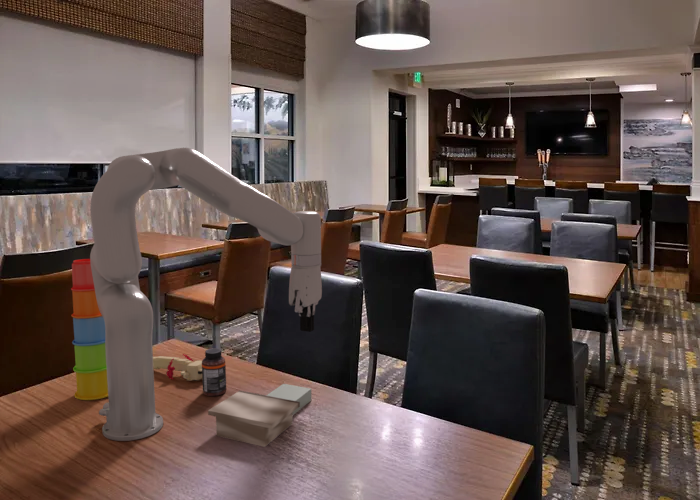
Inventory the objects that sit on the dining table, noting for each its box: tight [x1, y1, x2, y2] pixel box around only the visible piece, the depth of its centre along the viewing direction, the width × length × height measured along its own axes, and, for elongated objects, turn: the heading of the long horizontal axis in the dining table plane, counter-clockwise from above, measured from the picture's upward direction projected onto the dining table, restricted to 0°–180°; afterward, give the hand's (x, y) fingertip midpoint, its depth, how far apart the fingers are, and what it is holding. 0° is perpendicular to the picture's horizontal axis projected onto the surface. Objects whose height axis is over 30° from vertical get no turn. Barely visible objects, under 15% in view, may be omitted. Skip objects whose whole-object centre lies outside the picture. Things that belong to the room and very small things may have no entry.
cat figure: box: [153, 353, 202, 382], centre depth 157 cm, size 10×9×25 cm
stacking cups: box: [70, 258, 108, 401], centre depth 141 cm, size 10×10×35 cm
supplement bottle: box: [201, 347, 227, 397], centre depth 144 cm, size 6×6×11 cm
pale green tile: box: [266, 383, 312, 417], centre depth 137 cm, size 8×12×3 cm, turn 157°
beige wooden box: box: [207, 390, 300, 448], centre depth 124 cm, size 12×16×6 cm
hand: (307, 330), depth 145 cm, fingers closed
